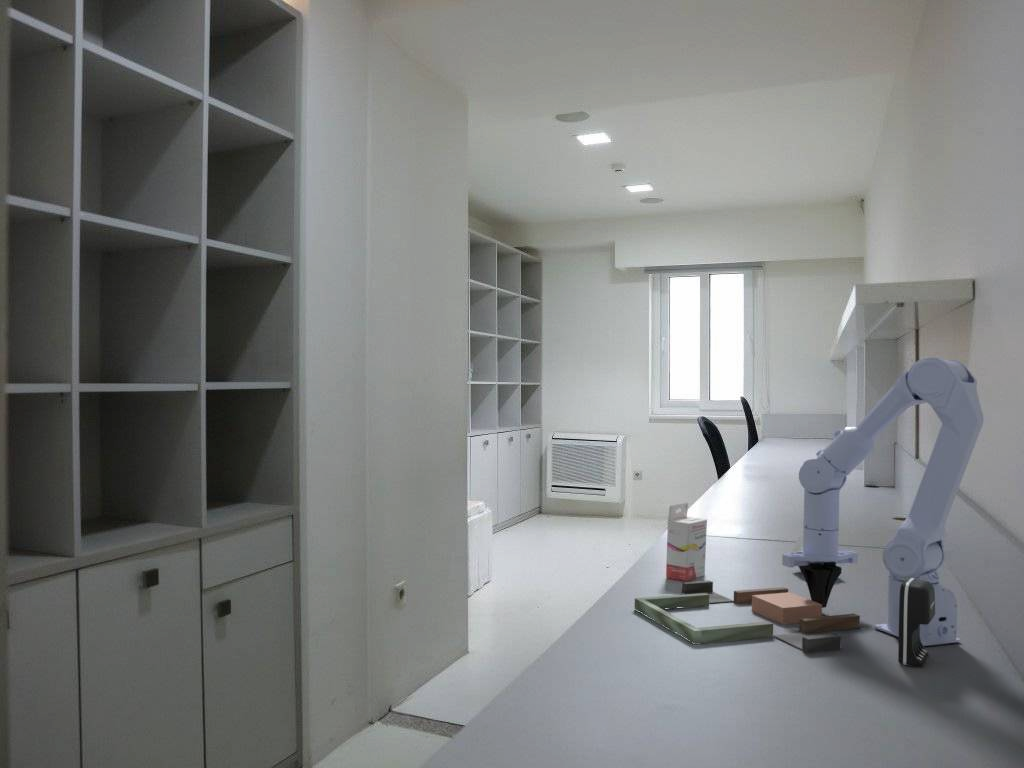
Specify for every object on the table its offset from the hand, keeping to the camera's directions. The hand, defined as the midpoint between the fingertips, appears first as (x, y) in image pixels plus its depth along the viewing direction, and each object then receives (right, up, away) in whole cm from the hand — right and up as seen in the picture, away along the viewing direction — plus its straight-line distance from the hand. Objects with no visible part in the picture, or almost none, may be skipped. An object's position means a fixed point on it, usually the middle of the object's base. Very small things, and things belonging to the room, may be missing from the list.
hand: (819, 606), depth 132 cm
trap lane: (-15, -1, -5) cm, 16 cm away
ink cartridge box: (-18, -1, +23) cm, 29 cm away
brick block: (-7, -1, -2) cm, 7 cm away
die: (+11, -2, +29) cm, 31 cm away
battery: (+4, -1, -24) cm, 24 cm away
